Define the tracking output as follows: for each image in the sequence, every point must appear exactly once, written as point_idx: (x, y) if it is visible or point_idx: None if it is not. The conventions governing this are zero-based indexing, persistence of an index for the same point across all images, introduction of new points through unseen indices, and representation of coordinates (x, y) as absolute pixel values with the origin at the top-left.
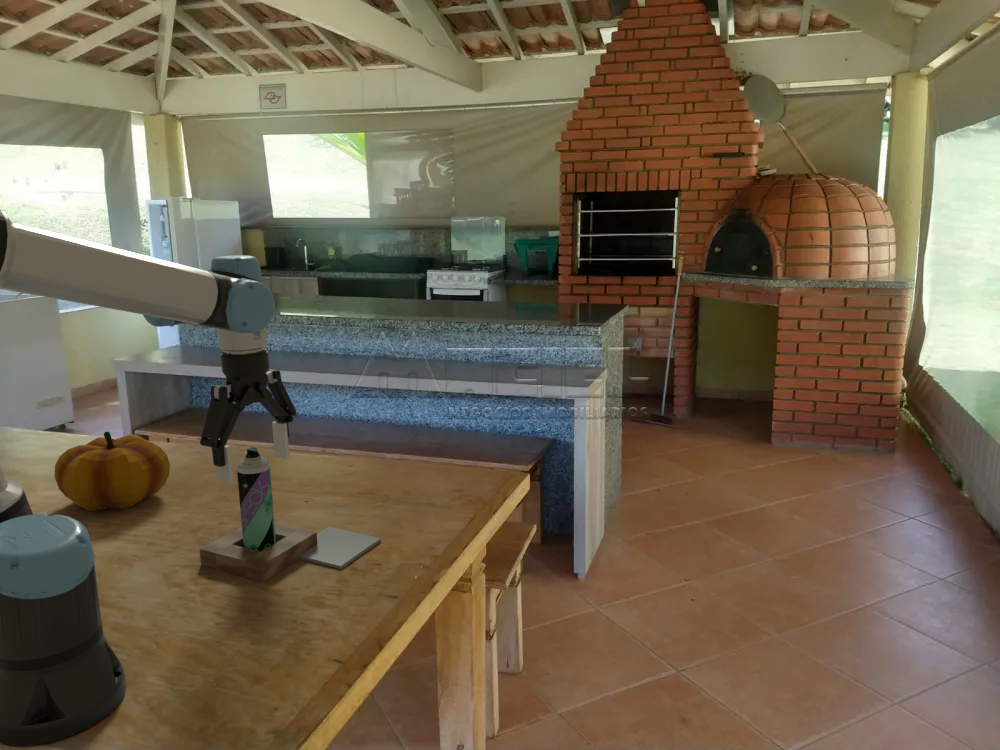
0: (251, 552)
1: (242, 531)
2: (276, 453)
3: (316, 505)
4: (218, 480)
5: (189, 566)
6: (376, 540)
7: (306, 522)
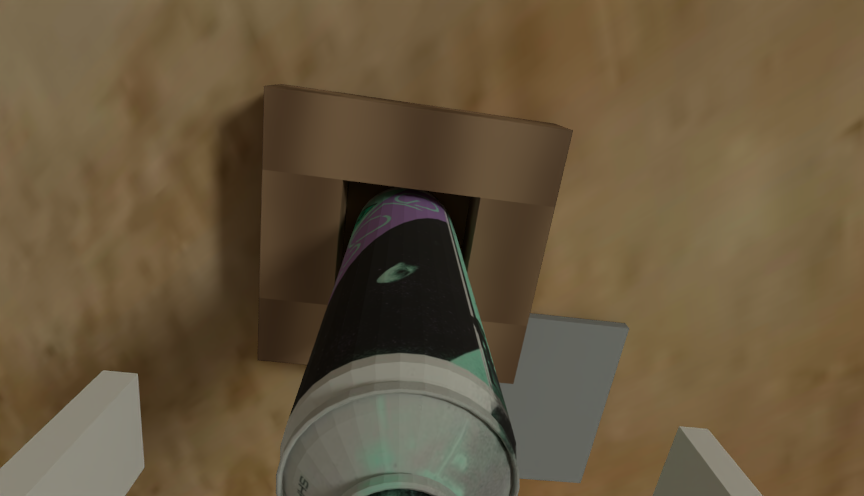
0: (316, 282)
1: (356, 234)
2: (689, 460)
3: (818, 184)
4: (91, 386)
5: (256, 49)
6: (564, 480)
7: (669, 230)
